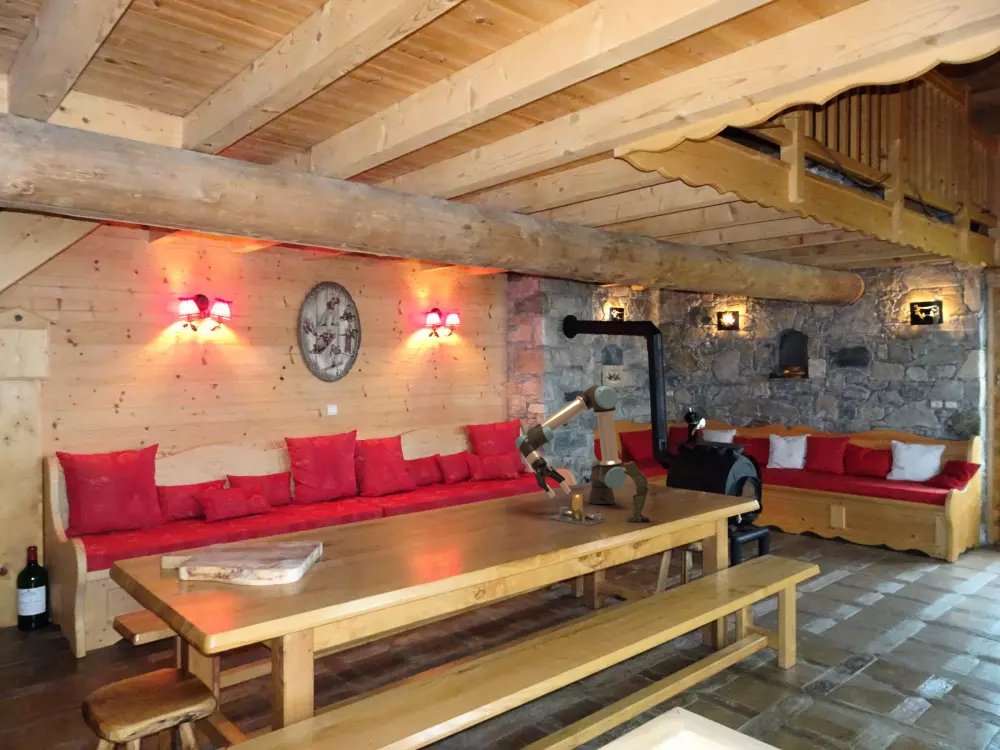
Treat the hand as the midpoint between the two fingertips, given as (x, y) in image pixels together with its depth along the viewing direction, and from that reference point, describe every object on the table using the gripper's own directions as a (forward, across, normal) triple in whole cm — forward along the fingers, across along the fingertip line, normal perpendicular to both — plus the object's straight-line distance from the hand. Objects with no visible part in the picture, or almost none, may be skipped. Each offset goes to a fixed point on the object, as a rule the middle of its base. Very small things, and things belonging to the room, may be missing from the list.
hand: (561, 494), depth 350 cm
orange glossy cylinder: (+14, 0, 0) cm, 14 cm away
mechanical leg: (+31, -17, +14) cm, 38 cm away
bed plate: (+15, 0, -1) cm, 15 cm away
